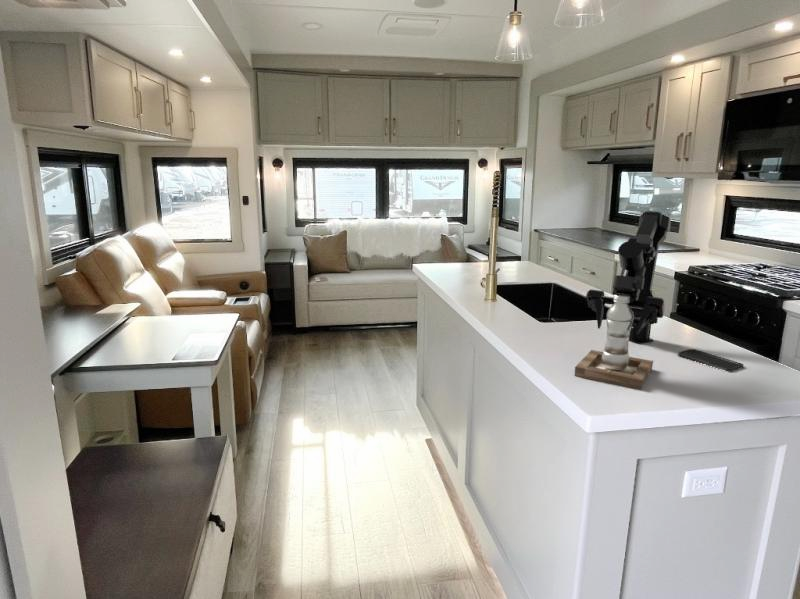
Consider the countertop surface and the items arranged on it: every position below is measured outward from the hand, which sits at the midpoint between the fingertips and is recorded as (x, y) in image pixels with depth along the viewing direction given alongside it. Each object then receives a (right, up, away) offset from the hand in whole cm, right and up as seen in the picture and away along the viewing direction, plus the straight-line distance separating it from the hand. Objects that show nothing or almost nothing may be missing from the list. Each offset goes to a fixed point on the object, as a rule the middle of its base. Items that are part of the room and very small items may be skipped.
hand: (617, 330), depth 139 cm
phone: (+31, -10, +13) cm, 35 cm away
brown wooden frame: (+1, -11, +4) cm, 12 cm away
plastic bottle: (+1, -11, +4) cm, 11 cm away
